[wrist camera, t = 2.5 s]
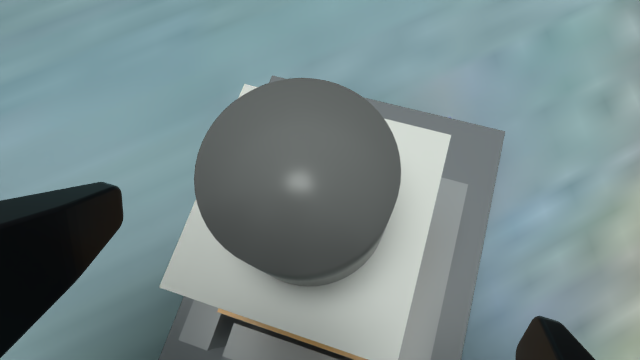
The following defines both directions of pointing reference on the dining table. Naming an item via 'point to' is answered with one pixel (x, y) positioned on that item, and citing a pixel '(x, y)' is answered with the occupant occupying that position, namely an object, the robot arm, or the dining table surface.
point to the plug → (311, 217)
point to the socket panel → (434, 274)
